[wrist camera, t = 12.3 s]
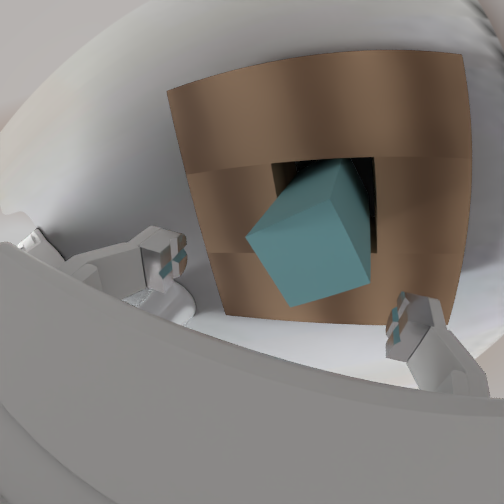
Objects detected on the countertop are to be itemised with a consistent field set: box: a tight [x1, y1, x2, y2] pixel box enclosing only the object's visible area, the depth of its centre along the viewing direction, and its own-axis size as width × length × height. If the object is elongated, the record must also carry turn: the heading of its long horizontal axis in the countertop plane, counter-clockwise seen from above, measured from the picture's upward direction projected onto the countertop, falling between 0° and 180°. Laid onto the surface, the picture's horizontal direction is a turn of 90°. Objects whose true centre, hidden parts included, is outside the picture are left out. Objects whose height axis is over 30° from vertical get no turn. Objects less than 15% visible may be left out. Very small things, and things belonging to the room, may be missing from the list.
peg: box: [245, 158, 371, 308], centre depth 17 cm, size 4×4×12 cm
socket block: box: [167, 50, 472, 325], centre depth 19 cm, size 18×18×6 cm
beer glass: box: [137, 281, 196, 325], centre depth 29 cm, size 7×7×15 cm
